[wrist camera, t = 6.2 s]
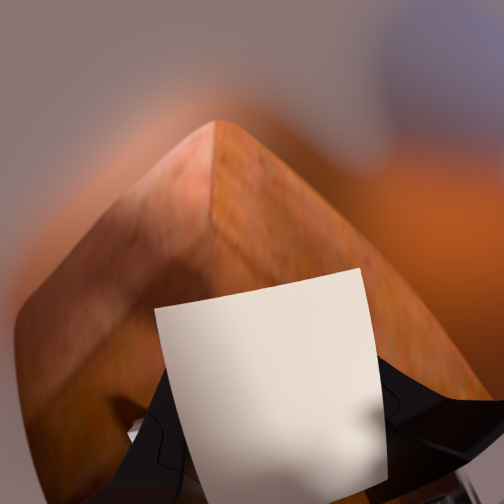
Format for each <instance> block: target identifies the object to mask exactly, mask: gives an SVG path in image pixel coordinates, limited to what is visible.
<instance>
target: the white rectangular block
mask: <svg viewBox="0 0 504 504" xmlns="http://www.w3.org/2000/svg"><path fill="white" fill-rule="evenodd" d="M154 311H155V316H156V322H157V327H158V332H159V337H160V342H161V347H162V351H163V356H164V360H165V365H166V369H167V373H168V377H169V382H170V386H171V389H172V393H173V397H174V401H175V405H176V408H177V412H178V415H179V419H180V422H181V426H182V429H183V432H184V436H185V439H186V442H187V445H188V448H189V451H190V454H191V457H192V460H193V463H194V466H195V469H196V472H197V475H198V477H199V480H200V483H201V486H202V488H203V491H204V493H205V496H206V499H207V501H208V504H327V503H330V502H333V501H336V500H339V499H342V498H344V497H347V496H350V495H352V494H355V493H357V492H360V491H362V490H365V489H367V488H370V487H372V486H374V485H376V484H379V483H381V482H383V481H385V480H387V479H388V470H387V446H386V431H385V419H384V408H383V398H382V390H381V382H380V374H379V367H378V360H377V353H376V347H375V341H374V335H373V329H372V324H371V318H370V313H369V308H368V303H367V298H366V294H365V289H364V284H363V280H362V275H361V271H360V268H357V269H353V270H348V271H344V272H340V273H335V274H331V275H326V276H322V277H317V278H313V279H308V280H303V281H299V282H294V283H289V284H285V285H280V286H275V287H270V288H265V289H260V290H255V291H250V292H245V293H240V294H235V295H229V296H224V297H219V298H213V299H208V300H202V301H197V302H191V303H185V304H179V305H174V306H168V307H162V308H156V309H154Z"/></svg>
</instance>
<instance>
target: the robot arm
mask: <svg viewBox="0 0 504 504" xmlns="http://www.w3.org/2000/svg"><path fill="white" fill-rule="evenodd" d="M377 360H378V367H379V374H380V382H381V390H382V398H383V408H384V419H385V431H386V446H387V470H388V479H387V480H385V481H383V482H381V483H379V484H376V485H374V486H372V487H370V488H367V489H365V490H364V491H365V493H366V496H367V498H368V500H369V502H370V504H382V503H385V502H388V501H391V500H393V499H396V498H398V497H399V499H400V502H401V504H504V400H457V399H451V398H447V397H445V396H442V395H440V394H438V393H436V392H435V391H433V390H431V389H429V388H427V387H426V386H424V385H422V384H420V383H419V382H417V381H415V380H413V379H412V378H410V377H408V376H407V375H405V374H403V373H402V372H400V371H399V370H397V369H396V368H394V367H393V366H392V365H390V364H389V363H387V362H386V361H385V360H383V359H381V358H380V357H379V356H378V355H377ZM148 411H149V412H146V415H145V417H144V420H143V422H142V424H141V426H140V429H139V431H138V433H137V435H136V437H135V439H134V441H133V443H132V444H131V446H130V448H129V450H128V452H127V453H126V455H125V457H124V459H123V460H122V462H121V464H120V466H119V467H118V469H117V471H116V473H115V474H114V476H113V478H112V479H111V480H110V481H109V483H108V484H107V485H106V486H105V487H103V488H102V489H101V490H99V491H98V492H97V493H95V494H94V495H92V496H91V497H90V498H88V499H87V500H85V501H84V502H82V503H81V504H208V501H207V499H206V496H205V493H204V491H203V488H202V486H201V483H200V480H199V477H198V475H197V472H196V469H195V466H194V463H193V460H192V457H191V454H190V451H189V448H188V445H187V442H186V439H185V436H184V432H183V429H182V426H181V422H180V419H179V415H178V412H177V408H176V405H175V401H174V397H173V393H172V389H171V386H170V382H169V377H168V373H167V369H166V368H165V370H164V373H163V375H162V377H161V379H160V382H159V384H158V387H157V389H156V391H155V394H154V396H153V398H152V401H151V403H150V405H149V408H148Z"/></svg>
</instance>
